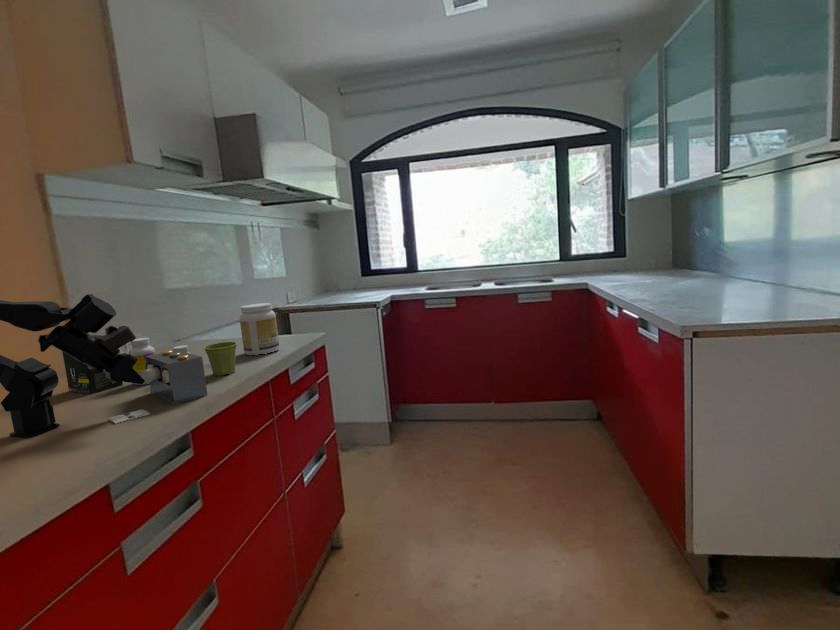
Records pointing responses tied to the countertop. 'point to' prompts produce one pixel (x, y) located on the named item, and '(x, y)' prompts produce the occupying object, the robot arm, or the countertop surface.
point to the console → (178, 376)
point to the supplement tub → (259, 329)
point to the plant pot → (221, 357)
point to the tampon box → (85, 376)
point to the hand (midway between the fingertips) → (143, 382)
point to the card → (129, 416)
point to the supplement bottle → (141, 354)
